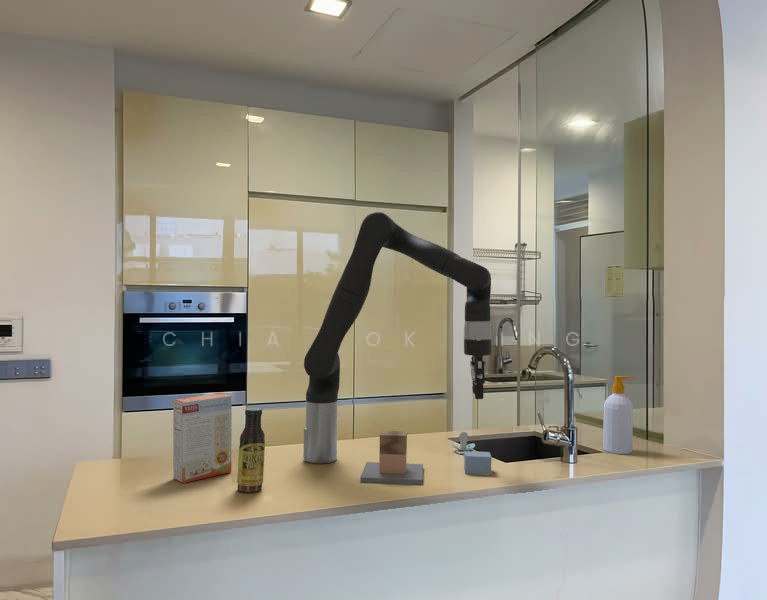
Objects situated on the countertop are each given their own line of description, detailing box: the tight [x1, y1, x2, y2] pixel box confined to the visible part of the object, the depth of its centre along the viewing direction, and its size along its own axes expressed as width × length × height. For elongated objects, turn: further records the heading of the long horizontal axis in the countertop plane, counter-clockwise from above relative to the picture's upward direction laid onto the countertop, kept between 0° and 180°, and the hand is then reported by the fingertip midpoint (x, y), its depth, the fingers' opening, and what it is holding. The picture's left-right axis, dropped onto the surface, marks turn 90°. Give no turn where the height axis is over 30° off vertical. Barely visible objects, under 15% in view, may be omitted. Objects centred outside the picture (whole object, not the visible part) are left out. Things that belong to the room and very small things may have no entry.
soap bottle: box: [602, 375, 636, 455], centre depth 180 cm, size 9×9×24 cm
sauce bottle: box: [236, 407, 266, 493], centre depth 138 cm, size 6×6×20 cm
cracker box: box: [172, 393, 233, 484], centre depth 149 cm, size 14×6×21 cm, turn 134°
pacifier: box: [451, 431, 477, 455], centre depth 176 cm, size 7×6×6 cm
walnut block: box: [379, 430, 408, 455], centre depth 152 cm, size 7×5×5 cm
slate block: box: [463, 451, 492, 476], centre depth 156 cm, size 7×5×5 cm
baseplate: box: [359, 450, 424, 485], centre depth 152 cm, size 16×14×6 cm
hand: (477, 396), depth 155 cm, fingers open, 8 cm apart
